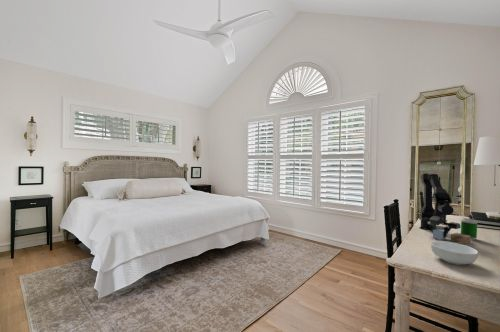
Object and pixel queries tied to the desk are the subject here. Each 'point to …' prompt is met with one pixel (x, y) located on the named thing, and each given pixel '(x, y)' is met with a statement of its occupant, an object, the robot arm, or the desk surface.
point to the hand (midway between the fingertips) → (439, 236)
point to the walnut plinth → (460, 238)
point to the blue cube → (438, 234)
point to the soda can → (469, 228)
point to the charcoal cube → (440, 227)
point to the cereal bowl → (454, 252)
